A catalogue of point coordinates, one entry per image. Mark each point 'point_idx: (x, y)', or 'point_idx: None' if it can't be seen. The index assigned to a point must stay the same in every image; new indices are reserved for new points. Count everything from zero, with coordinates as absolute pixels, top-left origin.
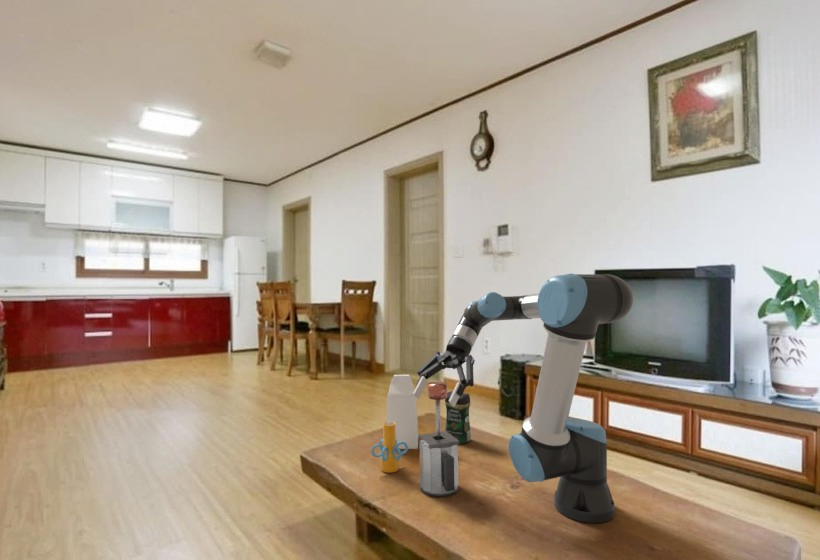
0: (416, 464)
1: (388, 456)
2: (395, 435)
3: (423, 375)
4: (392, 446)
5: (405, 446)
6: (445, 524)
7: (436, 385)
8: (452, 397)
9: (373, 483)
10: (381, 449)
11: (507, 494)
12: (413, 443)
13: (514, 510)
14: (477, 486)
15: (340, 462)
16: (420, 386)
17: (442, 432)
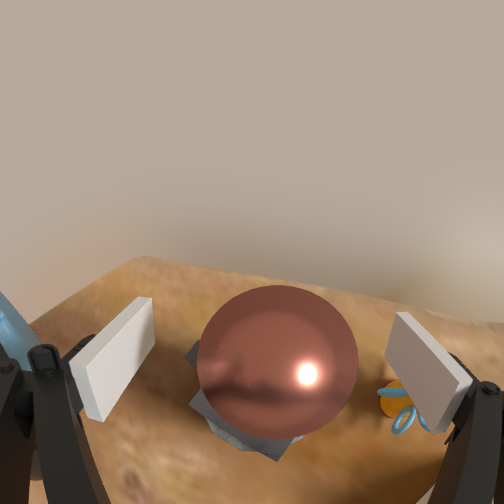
0: (369, 456)
1: None
2: None
3: (474, 395)
4: None
5: (399, 428)
6: (179, 300)
7: (254, 310)
8: (127, 306)
9: (375, 335)
10: None
11: (129, 445)
12: (426, 501)
13: None
14: (193, 451)
15: (471, 348)
16: (418, 356)
17: (279, 442)
